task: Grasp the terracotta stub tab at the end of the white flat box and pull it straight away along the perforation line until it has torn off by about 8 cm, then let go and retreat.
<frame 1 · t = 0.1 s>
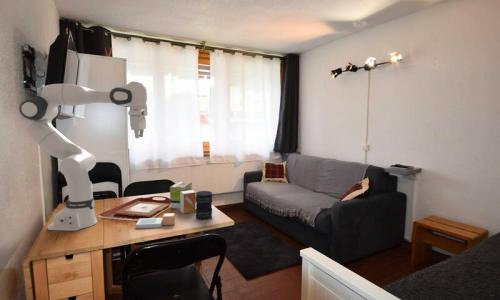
hand: (139, 137, 148), 48 cm above the table, fingers open, 8 cm apart
storage jar: (203, 217, 163), on the table
tea box: (181, 205, 185), on the table
white flat box: (150, 224, 150), on the table
small box: (187, 212, 172), on the table
stub: (168, 218, 151), point 3 cm above the table, slide at 0.0 cm
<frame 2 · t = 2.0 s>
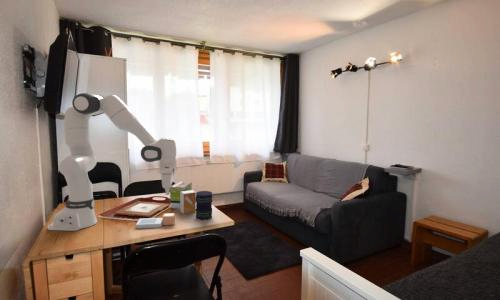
hand: (168, 192, 150), 18 cm above the table, fingers open, 8 cm apart
nothing on the table moved.
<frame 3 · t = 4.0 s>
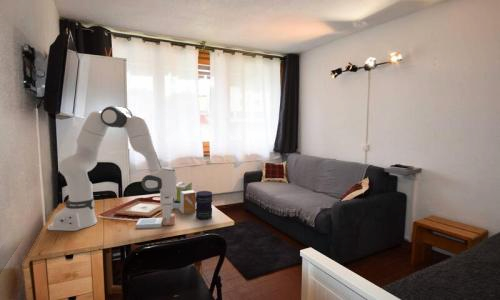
hand: (168, 220, 151), 2 cm above the table, fingers closed on stub, 5 cm apart
stub: (168, 218, 151), point 3 cm above the table, slide at 0.0 cm, touching gripper
everything else where it was.
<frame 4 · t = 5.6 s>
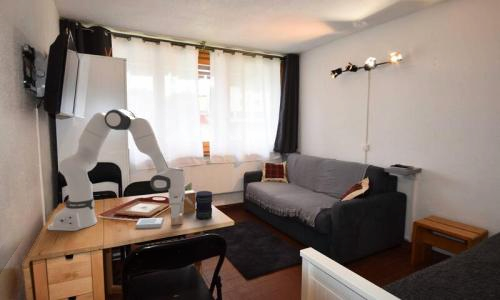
hand: (177, 219, 152), 2 cm above the table, fingers closed on stub, 5 cm apart
stub: (176, 218, 152), point 3 cm above the table, slide at 4.4 cm, touching gripper
everything else where it was.
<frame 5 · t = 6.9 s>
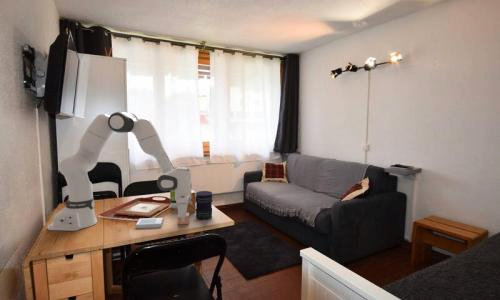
hand: (183, 219, 153), 2 cm above the table, fingers closed on stub, 5 cm apart
stub: (183, 218, 153), point 3 cm above the table, slide at 8.0 cm, touching gripper
everything else where it was.
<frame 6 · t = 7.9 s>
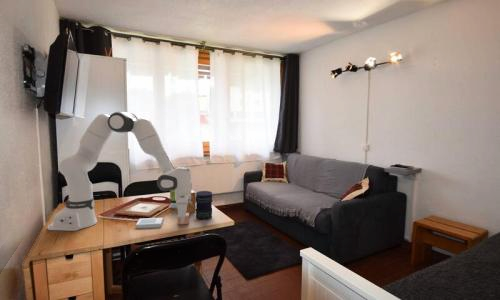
hand: (183, 219, 153), 2 cm above the table, fingers open, 8 cm apart
stub: (183, 218, 153), point 3 cm above the table, slide at 8.0 cm
everything else where it was.
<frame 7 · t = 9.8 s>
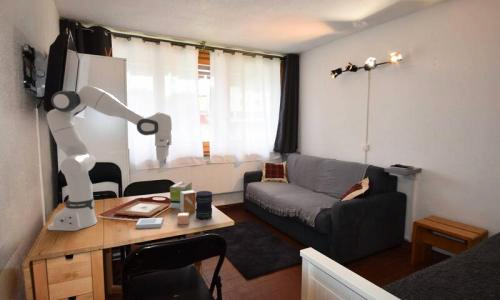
hand: (163, 165, 154), 32 cm above the table, fingers open, 8 cm apart
nothing on the table moved.
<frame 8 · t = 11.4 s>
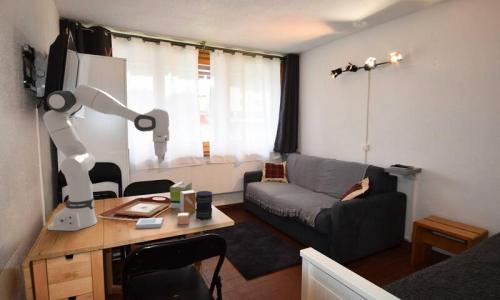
hand: (161, 161, 154), 34 cm above the table, fingers open, 8 cm apart
nothing on the table moved.
at the end: stub slide at 8.0 cm; the gripper is holding nothing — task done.
